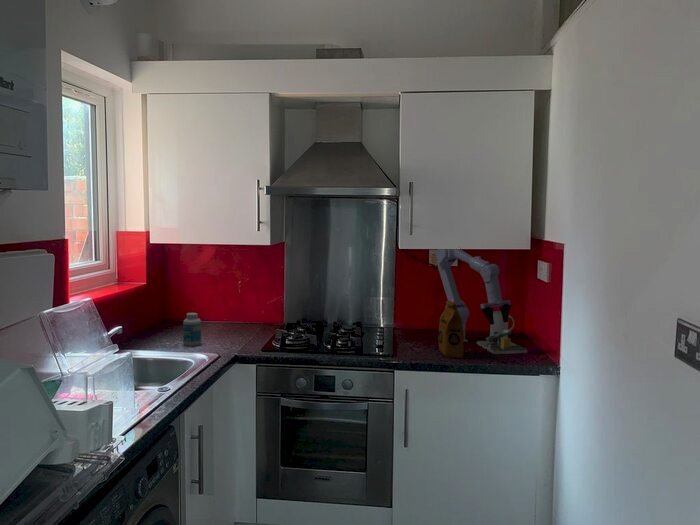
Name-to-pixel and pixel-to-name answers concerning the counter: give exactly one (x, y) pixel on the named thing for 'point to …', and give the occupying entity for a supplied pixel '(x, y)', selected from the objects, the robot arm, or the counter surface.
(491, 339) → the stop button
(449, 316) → the coffee package
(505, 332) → the teal tile with stripe
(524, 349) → the panel
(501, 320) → the mug
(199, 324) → the pill bottle
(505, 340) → the slider knob
